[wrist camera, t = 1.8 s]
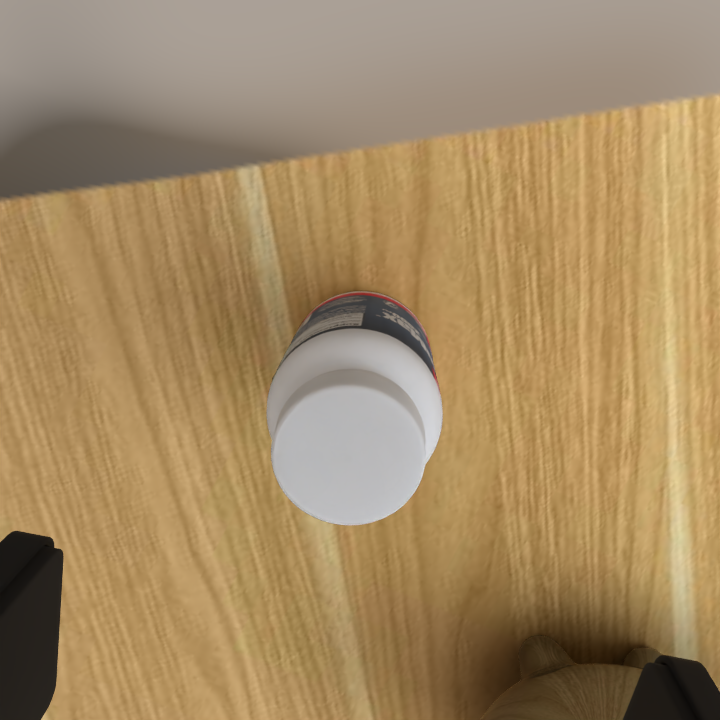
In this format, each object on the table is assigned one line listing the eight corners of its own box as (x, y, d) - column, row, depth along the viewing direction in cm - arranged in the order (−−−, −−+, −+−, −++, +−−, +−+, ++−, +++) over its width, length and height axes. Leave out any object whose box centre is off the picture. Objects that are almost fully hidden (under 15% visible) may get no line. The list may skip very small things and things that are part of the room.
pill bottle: (452, 387, 25) (485, 507, 17) (331, 439, 26) (305, 578, 18) (395, 264, 24) (399, 327, 16) (269, 323, 25) (208, 413, 16)
